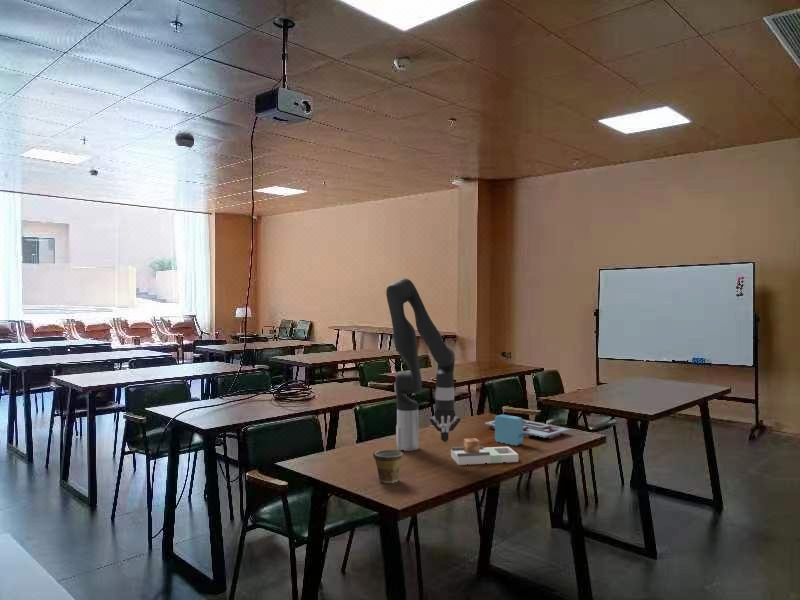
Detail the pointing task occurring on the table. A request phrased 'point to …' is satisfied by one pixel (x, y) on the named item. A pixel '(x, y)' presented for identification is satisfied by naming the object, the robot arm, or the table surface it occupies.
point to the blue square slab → (509, 429)
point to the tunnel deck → (484, 455)
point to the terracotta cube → (471, 445)
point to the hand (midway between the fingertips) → (444, 441)
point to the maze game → (537, 429)
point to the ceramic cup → (388, 465)
